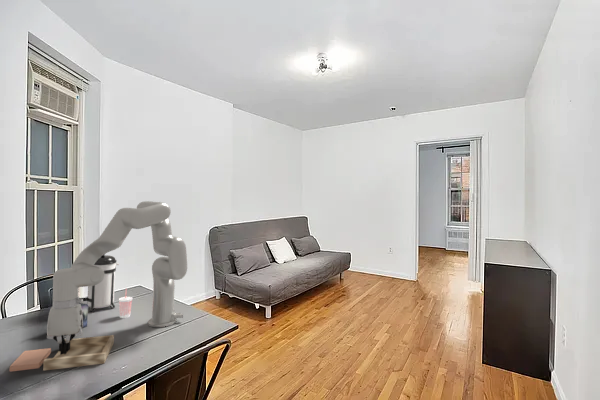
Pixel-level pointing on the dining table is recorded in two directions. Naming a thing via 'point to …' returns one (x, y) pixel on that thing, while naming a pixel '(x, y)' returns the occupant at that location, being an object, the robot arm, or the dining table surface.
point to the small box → (84, 314)
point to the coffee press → (103, 285)
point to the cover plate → (30, 359)
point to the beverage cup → (125, 306)
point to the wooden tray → (82, 353)
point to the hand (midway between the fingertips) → (64, 352)
